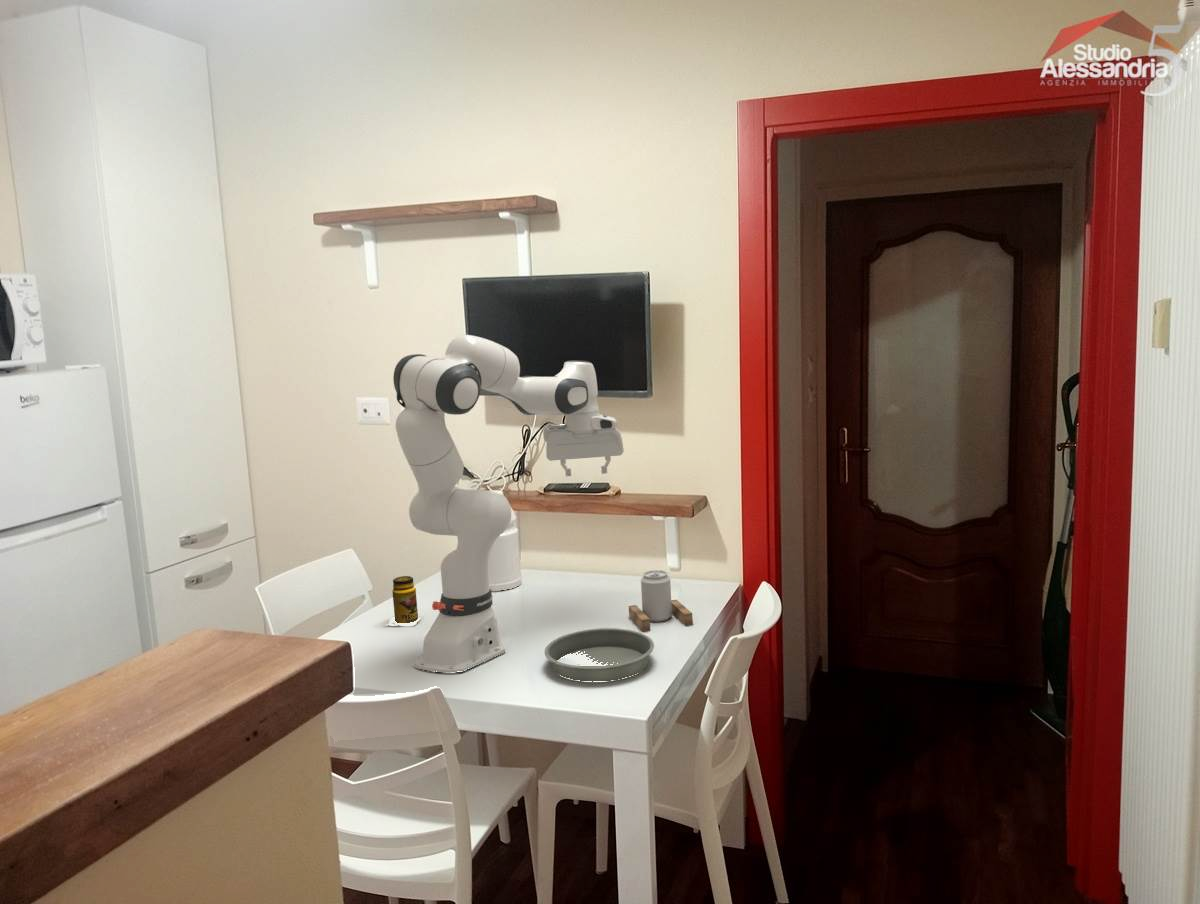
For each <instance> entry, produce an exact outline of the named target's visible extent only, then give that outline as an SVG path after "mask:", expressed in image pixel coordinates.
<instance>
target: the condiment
mask: <svg viewBox="0 0 1200 904" xmlns="http://www.w3.org/2000/svg"><path fill="white" fill-rule="evenodd" d="M392 584H393V585H392V587H393V589H392V590H391V592H392V601H393V612H394V615H393V616H394V617H395V621H396V622H397V623H410V622H414V621H416V620H417V619H418V617H419V613H418V612H419V610H418V602H417V600H418V599H417V590H416V587H415V583H414V577H412V576H410V575H403V576H397V577H395V578H394V579H392Z"/></svg>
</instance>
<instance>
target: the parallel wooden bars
mask: <svg viewBox="0 0 1200 904" xmlns="http://www.w3.org/2000/svg"><path fill="white" fill-rule="evenodd" d="M671 607H672V615H673V616H674V617H675V618H676V619H677V620H678V621H679V622H680V623H681V624H682V625H684V627H687V626H693V625H694V624H693V622H694V621H693V612H692V611H690V610H689V608H687V607H686V606H684V604H682V603H681V602H680V601H679V600H678V599H671ZM628 616H629V619H630V620H631V621H632V622H633V623H634V624H635V626H637V628H638V629H639V630H641V633H642V632H643V633H645V632H651V631H652V630H651V621H650V619H649V618H648V617H647V616H646V615H645V614H644V613H643V611H642V608H639V606H638V605H636V604H634V605H628Z"/></svg>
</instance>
